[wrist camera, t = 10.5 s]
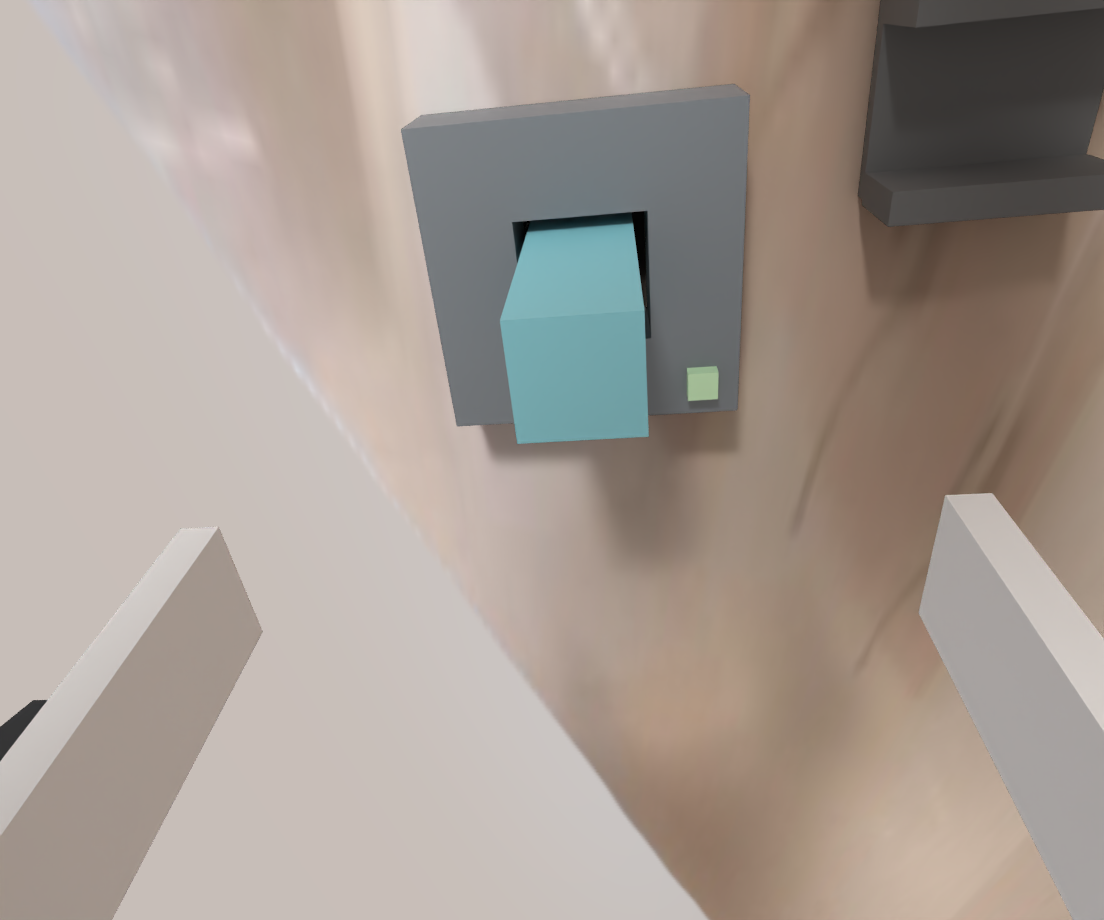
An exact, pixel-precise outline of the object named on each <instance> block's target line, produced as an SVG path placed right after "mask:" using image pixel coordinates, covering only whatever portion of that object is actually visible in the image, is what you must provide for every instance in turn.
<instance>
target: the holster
mask: <svg viewBox="0 0 1104 920" xmlns="http://www.w3.org/2000/svg"><path fill="white" fill-rule="evenodd" d="M1103 89H1104V0H881V1H880V10H879V19H878V27H877V36H876V44H875V53H874V62H873V70H872V79H871V87H870V96H869V105H868V113H867V122H866V130H865V139H864V148H863V156H862V165H861V173H860V182H859V191H858V197H860V198H861V199H862V206H864V207H865V208H866V209H867V210H868V211H870V212H871V213H872V214H873V215H874V216H876V217H877V218H878V219H879V220H880V221H882V222H883V223H884V224H885V225H886V226H888V227H892V226H904V225H917V224H929V223H942V222H954V221H967V220H979V219H992V218H1005V217H1017V216H1030V215H1042V214H1055V213H1067V212H1080V211H1092V210H1104V160H1103V159H1100V158H1097V157H1094V156H1091V155H1088V154H1086V153H1087V149H1088V146H1089V142H1090V138H1091V134H1092V131H1093V127H1094V123H1095V119H1096V115H1097V112H1098V108H1099V104H1100V100H1101V97H1102V93H1103Z"/></svg>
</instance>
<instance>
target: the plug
mask: <svg viewBox="0 0 1104 920" xmlns="http://www.w3.org/2000/svg"><path fill="white" fill-rule="evenodd" d="M500 326H501V333H502V340H503V347H504V354H505V361H506V368H507V375H508V382H509V389H510V396H511V403H512V410H513V417H514V424H515V431H516V439H517V444H523V443H542V442H560V441H578V440H596V439H615V438H633V437H649V432H648V401H647V371H646V341H645V310H644V303H643V295H642V288H641V280H640V273H639V265H638V258H637V250H636V242H635V235H634V227H633V220H632V212H626V213H614V214H603V215H591V216H579V217H567V218H555V219H543V220H532V221H530V224H529V228H528V231H527V234H526V237H525V241H524V244H523V247H522V250H521V254H520V257H519V260H518V263H517V267H516V270H515V273H514V276H513V280H512V283H511V286H510V289H509V292H508V296H507V299H506V302H505V305H504V309H503V312H502V315H501V318H500Z"/></svg>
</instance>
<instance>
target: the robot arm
mask: <svg viewBox="0 0 1104 920" xmlns="http://www.w3.org/2000/svg"><path fill="white" fill-rule="evenodd" d="M919 615H920V617H921V619H922V621H923V623H924V625H925V627H926V629H927V631H928V633H929V635H930V637H931V639H932V641H933V643H934V645H935V647H936V649H937V651H938V653H939V655H940V657H941V659H942V661H943V662H944V664H945V666H946V668H947V670H948V672H949V674H950V676H951V678H952V680H953V682H954V684H955V686H956V688H957V690H958V692H959V694H960V696H961V698H962V700H963V702H964V704H965V706H966V708H967V710H968V712H969V714H970V716H971V718H972V720H973V722H974V724H975V726H976V728H977V730H978V732H979V734H980V736H981V738H982V740H983V742H984V744H985V746H986V748H987V750H988V752H989V754H990V756H991V758H992V760H993V762H994V764H995V766H996V768H997V770H998V772H999V774H1000V776H1001V778H1002V780H1003V782H1004V784H1005V786H1006V788H1007V790H1008V792H1009V794H1010V796H1011V798H1012V800H1013V802H1014V804H1015V806H1016V808H1017V810H1018V812H1019V814H1020V816H1021V818H1022V820H1023V822H1024V824H1025V826H1026V828H1027V829H1028V831H1029V833H1030V835H1031V837H1032V839H1033V841H1034V843H1035V845H1036V847H1037V849H1038V851H1039V853H1040V855H1041V857H1042V859H1043V861H1044V863H1045V865H1046V867H1047V869H1048V871H1049V873H1050V875H1051V877H1052V879H1053V881H1054V883H1055V885H1056V887H1057V889H1058V891H1059V893H1060V895H1061V897H1062V899H1063V901H1064V903H1065V905H1066V907H1067V909H1068V911H1069V913H1070V915H1071V917H1072V919H1073V920H1104V638H1103V637H1102V636H1101V634H1100V633H1099V632H1098V631H1097V629H1096V628H1095V627H1094V625H1093V624H1092V623H1091V621H1090V620H1089V619H1088V617H1087V616H1086V615H1085V614H1084V612H1083V611H1082V610H1081V608H1080V607H1079V606H1078V604H1077V603H1076V602H1075V601H1074V599H1073V598H1072V597H1071V595H1070V594H1069V593H1068V591H1067V590H1066V589H1065V587H1064V586H1063V585H1062V584H1061V582H1060V581H1059V580H1058V578H1057V577H1056V576H1055V574H1054V573H1053V572H1052V570H1051V569H1050V568H1049V567H1048V565H1047V564H1046V563H1045V561H1044V560H1043V559H1042V557H1041V556H1040V555H1039V554H1038V552H1037V551H1036V550H1035V548H1034V547H1033V546H1032V544H1031V543H1030V542H1029V540H1028V539H1027V538H1026V537H1025V535H1024V534H1023V533H1022V531H1021V530H1020V529H1019V527H1018V526H1017V525H1016V523H1015V522H1014V521H1013V520H1012V518H1011V517H1010V516H1009V514H1008V513H1007V512H1006V510H1005V509H1004V508H1003V507H1002V505H1001V504H1000V503H999V501H998V500H997V499H996V497H995V496H994V495H993V493H983V494H960V495H945V498H944V503H943V507H942V512H941V516H940V520H939V525H938V529H937V534H936V538H935V543H934V547H933V551H932V556H931V560H930V565H929V569H928V573H927V578H926V582H925V587H924V591H923V595H922V600H921V604H920V609H919ZM262 632H263V631H262V629H261V626H260V624H259V622H258V619H257V617H256V614H255V612H254V610H253V607H252V605H251V603H250V600H249V598H248V595H247V593H246V591H245V588H244V586H243V583H242V581H241V579H240V577H239V574H238V572H237V569H236V567H235V564H234V562H233V560H232V558H231V555H230V553H229V550H228V548H227V545H226V543H225V541H224V539H223V536H222V534H221V531H220V529H219V527H206V528H205V527H204V528H181V529H180V530H179V531H178V533H177V534H176V535H175V536H174V537H173V539H172V540H171V542H170V543H169V544H168V545H167V547H166V548H165V549H164V550H163V552H162V553H161V554H160V556H159V557H158V558H157V560H156V561H155V562H154V563H153V565H152V566H151V567H150V569H149V570H148V571H147V572H146V574H145V575H144V576H143V578H142V579H141V580H140V582H139V583H138V584H137V585H136V587H135V588H134V589H133V591H132V592H131V593H130V594H129V596H128V597H127V598H126V600H125V601H124V602H123V603H122V605H121V606H120V607H119V609H118V610H117V611H116V613H115V614H114V615H113V616H112V618H111V619H110V620H109V621H108V623H107V624H106V625H105V627H104V628H103V629H102V631H101V632H100V633H99V634H98V636H97V637H96V638H95V640H94V641H93V642H92V644H91V645H90V646H89V647H88V649H87V650H86V651H85V653H84V654H83V655H82V657H81V658H80V659H79V660H78V662H77V663H76V664H75V665H74V667H73V668H72V670H71V671H70V672H69V673H68V674H67V676H66V677H65V679H64V680H63V681H62V682H61V684H60V685H59V686H58V687H57V689H56V690H55V691H54V693H53V694H52V695H51V697H50V698H49V699H48V700H33V701H32V702H30V703H29V704H28V705H27V706H26V707H25V708H23V709H22V710H21V711H19V712H18V713H17V714H16V715H14V716H13V717H12V718H11V719H10V720H8V721H7V722H6V723H5V724H3V725H2V726H1V727H0V920H112V919H113V917H114V915H115V913H116V911H117V909H118V907H119V905H120V903H121V902H122V900H123V898H124V896H125V894H126V892H127V890H128V888H129V886H130V884H131V882H132V881H133V879H134V877H135V875H136V873H137V871H138V869H139V867H140V865H141V863H142V861H143V860H144V858H145V856H146V854H147V852H148V850H149V848H150V846H151V844H152V842H153V840H154V839H155V837H156V835H157V832H158V830H159V829H160V827H161V825H162V823H163V821H164V819H165V817H166V816H167V814H168V812H169V810H170V808H171V806H172V804H173V802H174V800H175V798H176V797H177V795H178V793H179V791H180V789H181V787H182V785H183V783H184V781H185V779H186V777H187V775H188V774H189V772H190V770H191V768H192V766H193V764H194V762H195V760H196V758H197V756H198V754H199V753H200V751H201V749H202V747H203V745H204V743H205V741H206V739H207V737H208V735H209V734H210V732H211V730H212V728H213V726H214V724H215V722H216V720H217V718H218V716H219V714H220V712H221V711H222V709H223V707H224V705H225V703H226V701H227V699H228V697H229V695H230V693H231V691H232V690H233V688H234V686H235V683H236V682H237V680H238V678H239V676H240V674H241V672H242V670H243V669H244V666H245V665H246V663H247V661H248V659H249V657H250V655H251V653H252V651H253V649H254V648H255V646H256V644H257V642H258V640H259V638H260V636H261V634H262Z"/></svg>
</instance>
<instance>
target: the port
mask: <svg viewBox="0 0 1104 920" xmlns="http://www.w3.org/2000/svg"><path fill="white" fill-rule="evenodd" d="M749 103H750V95H749V94H748V93H746V92H745V91H743V90H742V89H741V88H739V87H738V86H736V85H735V84H728V85H718V86H708V87H698V88H688V89H678V90H668V91H658V92H648V93H638V94H628V95H618V96H608V97H598V98H588V99H578V100H568V101H559V102H549V103H539V104H529V105H519V106H509V107H499V108H489V109H479V110H469V111H459V112H449V113H439V114H429V115H421V116H420V117H418V118H417V119H415V120H414V121H412V122H411V123H409V124H408V125H407V126H405V127H404V128H402V129H401V133H402V138H403V143H404V148H405V154H406V159H407V164H408V170H409V175H410V180H411V186H412V191H413V196H414V201H415V207H416V212H417V217H418V223H419V228H420V233H421V238H422V244H423V249H424V254H425V260H426V265H427V270H428V276H429V281H430V286H431V291H432V297H433V302H434V307H435V313H436V318H437V323H438V328H439V334H440V339H441V344H442V350H443V355H444V360H445V366H446V371H447V376H448V381H449V387H450V392H451V397H452V403H453V408H454V413H455V418H456V424H457V426H472V425H490V424H507V423H514V417H513V410H512V403H511V396H510V389H509V382H508V375H507V368H506V361H505V354H504V347H503V340H502V333H501V326H500V318H501V315H502V312H503V309H504V305H505V302H506V299H507V296H508V292H509V289H510V286H511V283H512V280H513V276H514V273H515V270H516V267H517V263H518V260H519V257H520V254H521V250H522V247H523V244H524V241H525V233H524V224H523V221H532V220H543V219H555V218H567V217H579V216H591V215H603V214H614V213H626V212H638V211H644V232H645V265H646V297H647V307H644V310H645V341H646V371H647V401H648V415H664V414H681V413H699V412H716V411H734V410H737V409H738V383H739V358H740V332H741V307H742V281H743V256H744V231H745V205H746V180H747V154H748V129H749Z"/></svg>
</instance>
